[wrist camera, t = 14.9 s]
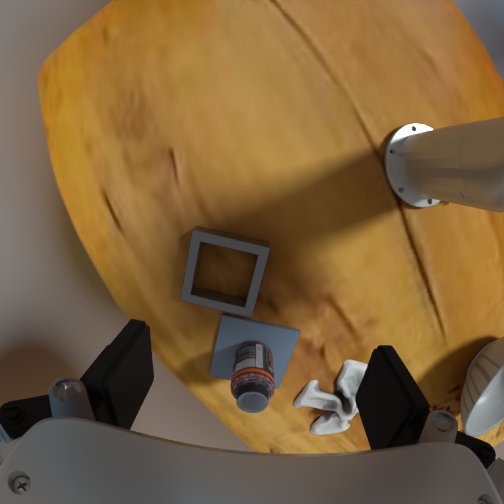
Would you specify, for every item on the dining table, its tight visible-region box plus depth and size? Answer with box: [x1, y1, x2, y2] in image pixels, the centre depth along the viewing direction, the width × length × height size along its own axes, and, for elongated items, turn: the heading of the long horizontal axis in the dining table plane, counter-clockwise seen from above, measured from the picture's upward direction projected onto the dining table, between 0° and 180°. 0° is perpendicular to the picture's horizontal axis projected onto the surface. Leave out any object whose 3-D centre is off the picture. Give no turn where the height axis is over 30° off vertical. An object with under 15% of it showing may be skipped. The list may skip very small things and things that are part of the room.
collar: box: [181, 226, 270, 317], centre depth 39 cm, size 10×10×3 cm
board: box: [209, 314, 300, 389], centre depth 43 cm, size 12×12×1 cm
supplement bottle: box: [231, 341, 275, 413], centre depth 38 cm, size 6×6×11 cm
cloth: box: [294, 360, 368, 435], centre depth 44 cm, size 22×19×6 cm
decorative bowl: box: [460, 337, 504, 437], centre depth 39 cm, size 27×27×12 cm
